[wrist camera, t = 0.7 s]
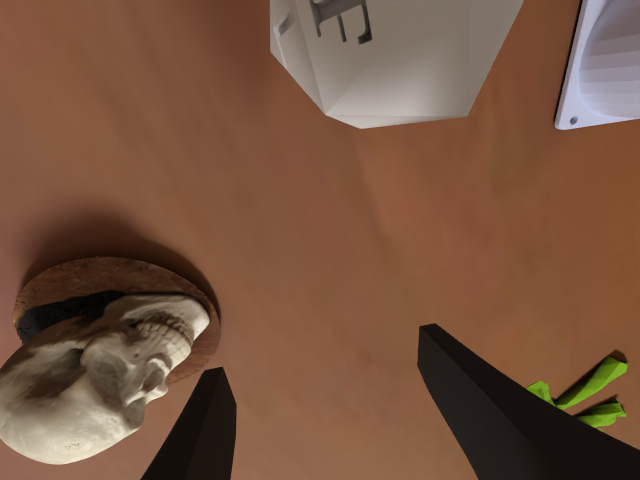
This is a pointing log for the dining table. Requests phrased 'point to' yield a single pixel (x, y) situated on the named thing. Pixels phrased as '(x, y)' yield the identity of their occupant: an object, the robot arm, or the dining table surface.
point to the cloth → (585, 388)
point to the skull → (98, 354)
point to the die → (390, 55)
